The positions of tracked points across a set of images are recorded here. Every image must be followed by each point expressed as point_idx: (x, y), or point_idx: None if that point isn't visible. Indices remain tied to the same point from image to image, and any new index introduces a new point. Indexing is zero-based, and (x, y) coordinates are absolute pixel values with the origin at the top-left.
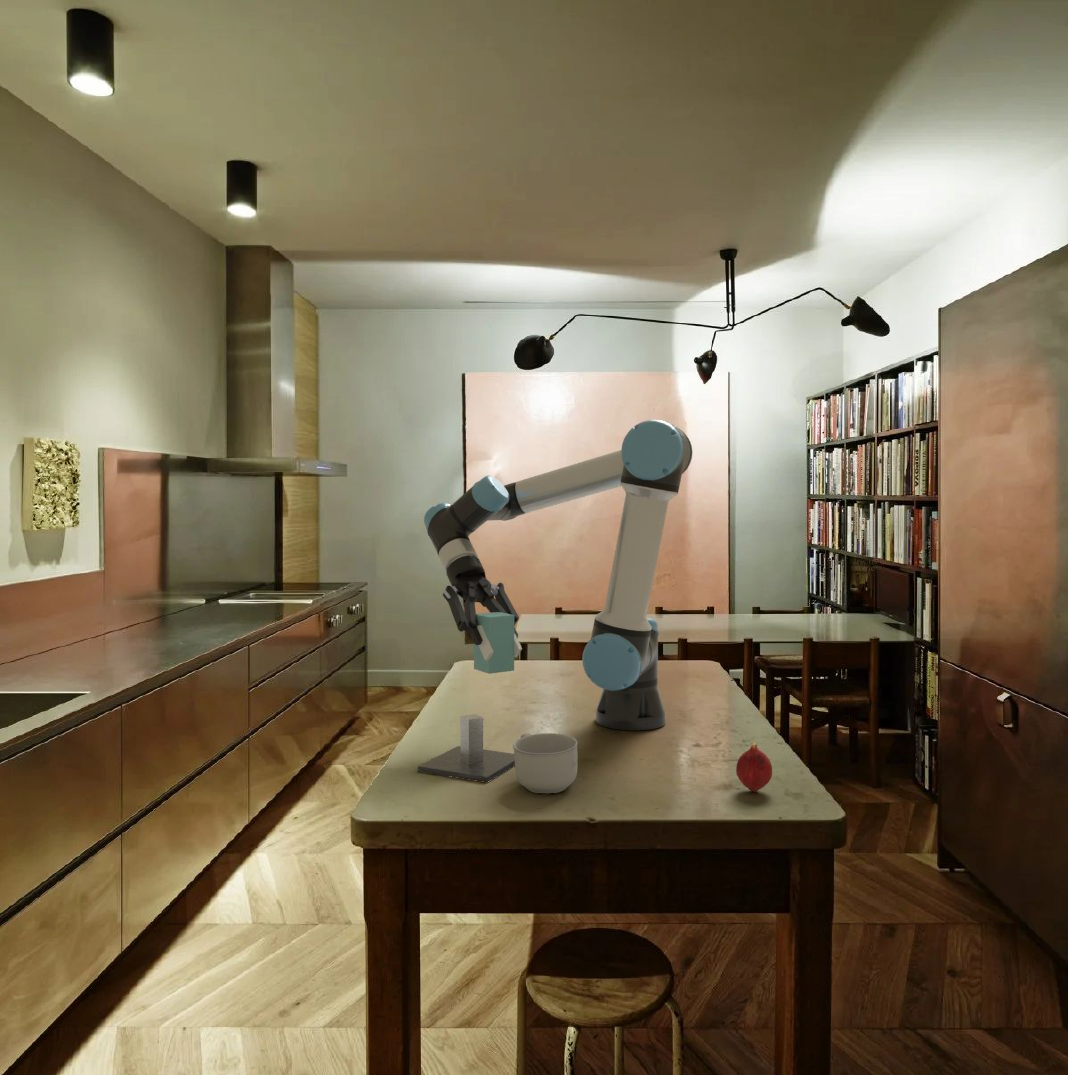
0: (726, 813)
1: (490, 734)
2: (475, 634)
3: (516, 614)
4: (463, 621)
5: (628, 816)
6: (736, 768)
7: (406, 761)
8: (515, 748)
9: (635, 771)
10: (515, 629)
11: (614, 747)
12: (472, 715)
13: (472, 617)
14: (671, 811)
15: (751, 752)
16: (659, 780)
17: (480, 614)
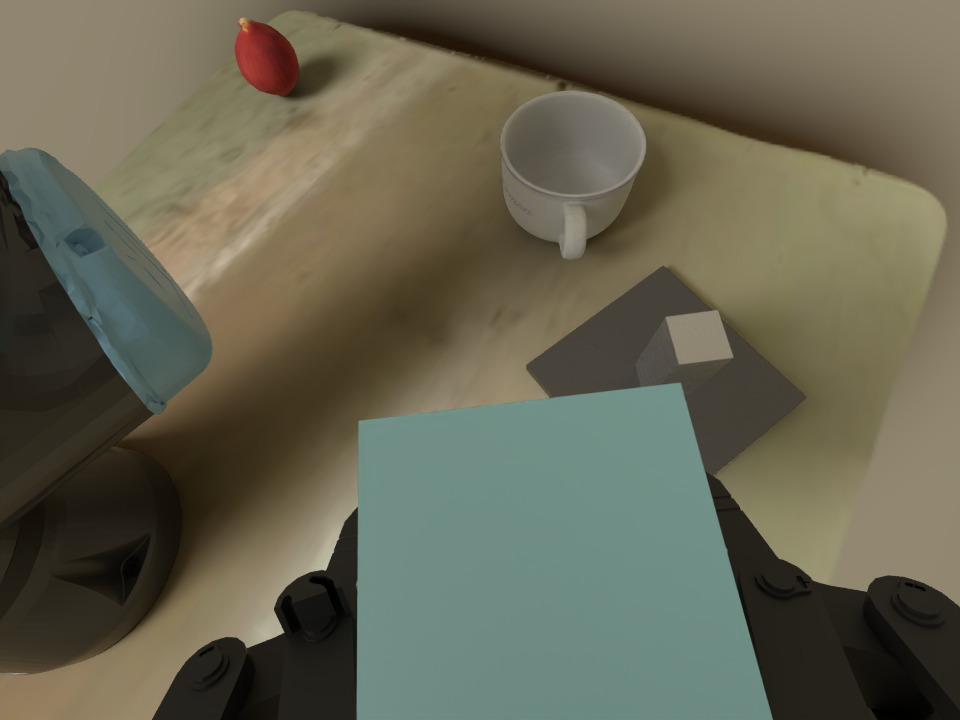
0: (383, 52)
1: None
2: (735, 511)
3: (168, 715)
4: (942, 608)
5: (507, 79)
6: (287, 68)
7: (818, 499)
8: (646, 144)
9: (366, 223)
10: (330, 563)
11: (291, 365)
12: (691, 351)
13: (824, 674)
14: (441, 76)
15: (261, 25)
16: (364, 173)
17: (711, 686)
